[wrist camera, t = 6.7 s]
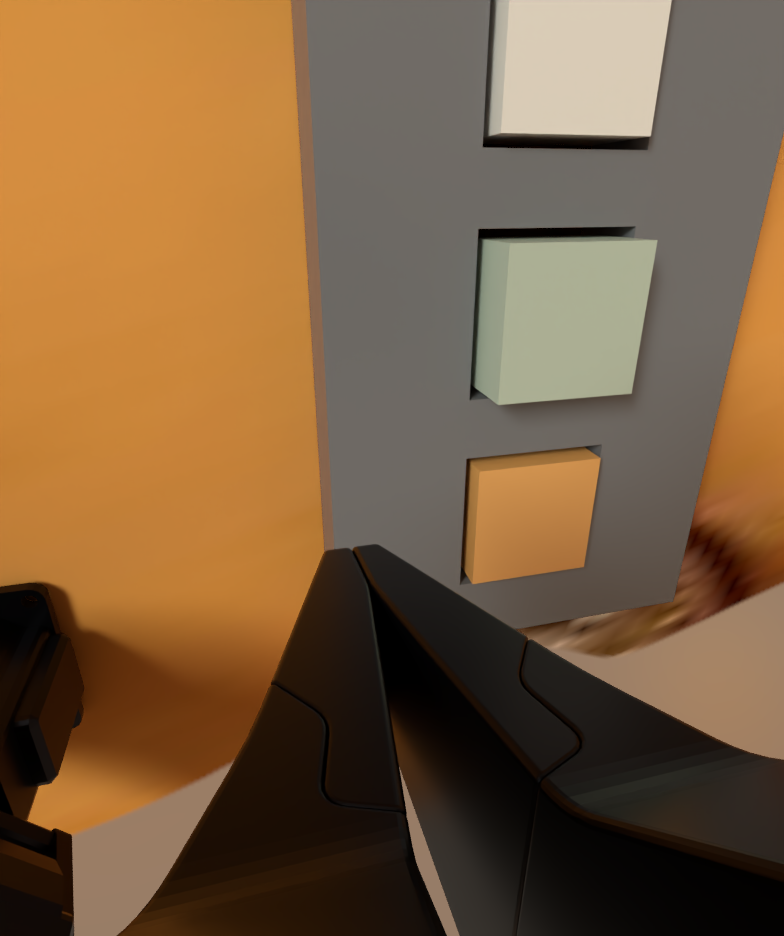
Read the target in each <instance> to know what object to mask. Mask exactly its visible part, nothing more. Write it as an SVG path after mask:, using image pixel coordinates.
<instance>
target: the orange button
mask: <svg viewBox="0 0 784 936" xmlns="http://www.w3.org/2000/svg"><path fill="white" fill-rule="evenodd" d="M600 459H601V458H600V457H598V456H597V455H595V454H594V453H592V452H591V451H589V450H588V449H587V448H585V447H584V446H583V447H573V448H564V449H555V450H545V451H536V452H526V453H517V454H507V455H498V456H488V457H479V458H469V459H466V476H465V496H464V515H463V534H462V553H461V567H462V568H463V570H464V571H465V573H466V575H467V576H468V578H469V579H470V581H471V583H472V584H477V583H484V582H490V581H497V580H503V579H510V578H516V577H522V576H529V575H535V574H542V573H548V572H555V571H561V570H567V569H574V568H580V567H584V563H585V557H586V550H587V544H588V537H589V531H590V524H591V518H592V511H593V505H594V498H595V492H596V485H597V479H598V472H599V466H600Z"/></svg>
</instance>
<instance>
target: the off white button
mask: <svg viewBox="0 0 784 936" xmlns="http://www.w3.org/2000/svg"><path fill="white" fill-rule="evenodd" d="M671 2H672V0H490V15H489V35H488V54H487V73H486V92H485V111H484V131H483V144H522V145H577V146H593V145H599V144H605V143H612V142H618V141H624V140H631V139H637V138H643V137H649V136H651V131H652V124H653V118H654V111H655V105H656V99H657V92H658V86H659V79H660V73H661V66H662V60H663V53H664V47H665V40H666V34H667V27H668V21H669V14H670V8H671Z"/></svg>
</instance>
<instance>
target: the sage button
mask: <svg viewBox="0 0 784 936" xmlns="http://www.w3.org/2000/svg"><path fill="white" fill-rule="evenodd" d="M657 241H658V240H650V239H638V238H627V237H615V236H604V235H569V236H516V237H478V246H477V265H476V284H475V303H474V323H473V342H472V361H471V380H470V384H471V385H472V386H474V387H475V388H476V389H478V390H479V391H480V392H482V393H483V394H484V395H486V396H487V397H488V398H489V399H491V400H492V401H493V402H495V403H496V404H497V405H505V404H516V403H528V402H540V401H551V400H563V399H575V398H586V397H598V396H610V395H621V394H632V388H633V382H634V376H635V370H636V365H637V359H638V353H639V347H640V341H641V335H642V329H643V323H644V317H645V311H646V306H647V300H648V294H649V288H650V282H651V276H652V270H653V264H654V258H655V253H656V247H657Z"/></svg>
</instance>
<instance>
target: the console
mask: <svg viewBox="0 0 784 936" xmlns="http://www.w3.org/2000/svg"><path fill="white" fill-rule="evenodd" d="M291 4H292V21H293V37H294V54H295V70H296V87H297V103H298V120H299V137H300V153H301V170H302V186H303V203H304V219H305V236H306V252H307V269H308V285H309V302H310V318H311V335H312V351H313V368H314V384H315V401H316V418H317V434H318V451H319V467H320V484H321V500H322V517H323V533H324V550H325V551H326V550H332V549H339V548H350V549H351V550H352V549H353V548H354V547H356V546H363V545H370V544H378V545H380V546H382V547H384V548H385V549H387V550H388V551H390V552H392V553H393V554H395V555H397V556H398V557H400V558H401V559H403V560H405V561H406V562H408V563H409V564H411V565H413V566H414V567H416V568H417V569H419V570H421V571H422V572H424V573H426V574H427V575H429V576H430V577H432V578H434V579H435V580H437V581H438V582H440V583H442V584H443V585H445V586H446V587H448V588H450V589H451V590H453V591H454V592H456V593H458V594H459V595H461V596H463V597H464V598H466V599H467V600H469V601H471V602H472V603H474V604H475V605H477V606H479V607H480V608H482V609H483V610H485V611H487V612H488V613H490V614H491V615H493V616H495V617H496V618H498V619H500V620H501V621H503V622H504V623H506V624H508V625H509V626H511V627H512V628H514V629H520V628H525V627H531V626H537V625H542V624H548V623H554V622H559V621H565V620H571V619H576V618H582V617H588V616H593V615H599V614H605V613H610V612H616V611H622V610H627V609H633V608H639V607H644V606H650V605H656V604H661V603H667V602H673V600H674V595H675V591H676V587H677V583H678V578H679V574H680V570H681V566H682V561H683V557H684V553H685V549H686V544H687V540H688V536H689V532H690V527H691V523H692V519H693V515H694V510H695V506H696V502H697V498H698V493H699V489H700V485H701V481H702V476H703V472H704V468H705V464H706V459H707V455H708V451H709V447H710V442H711V438H712V434H713V430H714V425H715V421H716V417H717V413H718V408H719V404H720V400H721V396H722V391H723V387H724V383H725V379H726V375H727V370H728V366H729V362H730V358H731V353H732V349H733V345H734V341H735V336H736V332H737V328H738V324H739V319H740V315H741V311H742V307H743V302H744V298H745V294H746V290H747V285H748V281H749V277H750V273H751V268H752V264H753V260H754V256H755V251H756V247H757V243H758V239H759V234H760V230H761V226H762V222H763V217H764V213H765V209H766V205H767V200H768V196H769V192H770V188H771V183H772V179H773V175H774V171H775V166H776V162H777V158H778V154H779V149H780V145H781V141H782V137H783V132H784V0H672V2H671V8H670V14H669V21H668V27H667V34H666V40H665V47H664V53H663V60H662V66H661V73H660V79H659V86H658V92H657V99H656V105H655V111H654V118H653V124H652V131H651V136H649V137H643V138H637V139H631V140H624V141H618V142H612V143H605V144H599V145H593V146H592V149H544V148H485V147H483V131H484V111H485V92H486V73H487V54H488V35H489V15H490V0H291ZM563 227H582V234H581V235H604V236H615V237H627V238H638V239H650V240H658V241H657V247H656V253H655V258H654V264H653V270H652V276H651V282H650V288H649V294H648V300H647V306H646V311H645V317H644V323H643V329H642V335H641V341H640V347H639V353H638V359H637V365H636V370H635V376H634V382H633V388H632V394H621V395H610V396H598V397H586V398H575V399H563V400H551V401H540V402H528V403H516V404H505V405H497V404H496V403H495V402H493V401H492V400H491V399H489V398H488V397H487V396H486V395H484V394H483V393H482V392H480V391H479V390H478V389H476V388H475V387H474V386H472V385H471V384H470V380H471V361H472V342H473V323H474V303H475V284H476V265H477V246H478V229H498V228H563ZM583 446H584V447H585V448H587V449H588V450H589V451H591V452H592V453H594V454H595V455H597V456H598V457H600V458H601V459H600V466H599V472H598V479H597V485H596V492H595V498H594V505H593V511H592V518H591V524H590V531H589V537H588V544H587V550H586V557H585V563H584V567H580V568H574V569H567V570H561V571H555V572H548V573H542V574H535V575H529V576H522V577H516V578H510V579H503V580H497V581H490V582H484V583H477V584H472V583H471V581H470V579H469V578H468V576H467V575H466V573H465V571H464V570H463V568H462V567H461V553H462V534H463V515H464V496H465V476H466V459H469V458H479V457H488V456H498V455H507V454H517V453H526V452H536V451H545V450H555V449H564V448H573V447H583Z"/></svg>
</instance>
